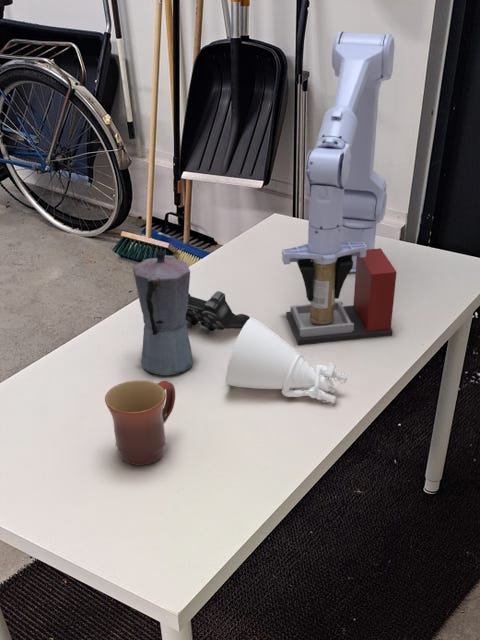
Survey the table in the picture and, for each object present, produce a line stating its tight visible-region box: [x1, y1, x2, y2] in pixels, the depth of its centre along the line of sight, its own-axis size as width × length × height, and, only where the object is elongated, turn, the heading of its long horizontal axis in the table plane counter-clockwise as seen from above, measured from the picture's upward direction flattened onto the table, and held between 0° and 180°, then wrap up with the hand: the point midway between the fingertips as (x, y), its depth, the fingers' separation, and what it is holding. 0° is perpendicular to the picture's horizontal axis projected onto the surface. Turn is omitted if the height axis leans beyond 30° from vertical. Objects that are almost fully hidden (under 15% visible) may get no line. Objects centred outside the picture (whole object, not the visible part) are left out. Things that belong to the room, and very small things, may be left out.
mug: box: [104, 379, 176, 466], centre depth 127 cm, size 12×9×10 cm
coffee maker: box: [285, 248, 397, 346], centre depth 154 cm, size 11×17×12 cm, turn 99°
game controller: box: [185, 290, 251, 335], centre depth 156 cm, size 16×7×10 cm, turn 55°
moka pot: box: [132, 250, 194, 376], centre depth 142 cm, size 10×15×20 cm, turn 174°
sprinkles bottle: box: [309, 258, 337, 325], centre depth 152 cm, size 5×5×14 cm
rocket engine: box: [225, 317, 349, 405], centre depth 139 cm, size 12×12×18 cm
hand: (322, 297), depth 153 cm, fingers closed on sprinkles bottle, 4 cm apart
